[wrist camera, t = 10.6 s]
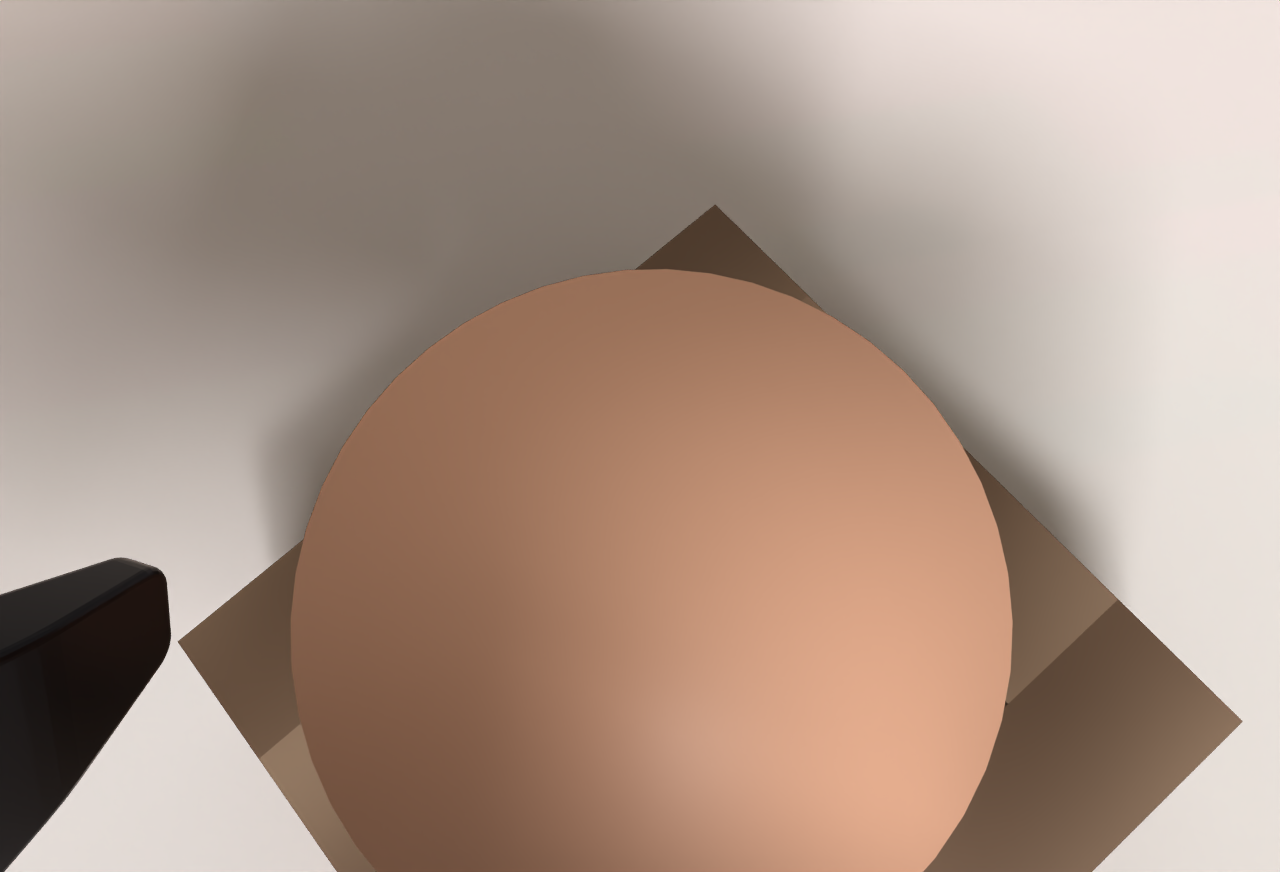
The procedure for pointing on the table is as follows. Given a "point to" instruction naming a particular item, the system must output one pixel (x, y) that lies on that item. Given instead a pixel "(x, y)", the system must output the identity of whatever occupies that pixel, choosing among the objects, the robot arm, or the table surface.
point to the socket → (1034, 707)
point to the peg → (651, 595)
